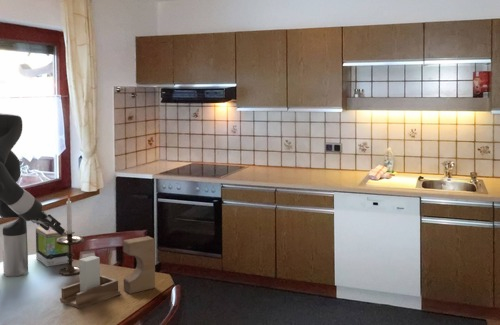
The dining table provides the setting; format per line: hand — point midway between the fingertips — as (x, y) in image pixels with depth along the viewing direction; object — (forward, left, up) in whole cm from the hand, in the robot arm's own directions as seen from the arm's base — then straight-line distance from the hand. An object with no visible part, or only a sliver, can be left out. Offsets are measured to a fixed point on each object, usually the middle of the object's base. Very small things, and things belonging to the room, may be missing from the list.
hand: (55, 230), depth 187 cm
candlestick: (-25, +24, -28) cm, 44 cm away
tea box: (-44, +28, -28) cm, 59 cm away
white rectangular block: (+4, +11, -26) cm, 29 cm away
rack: (+4, +12, -27) cm, 30 cm away
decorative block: (+12, +29, -28) cm, 41 cm away
